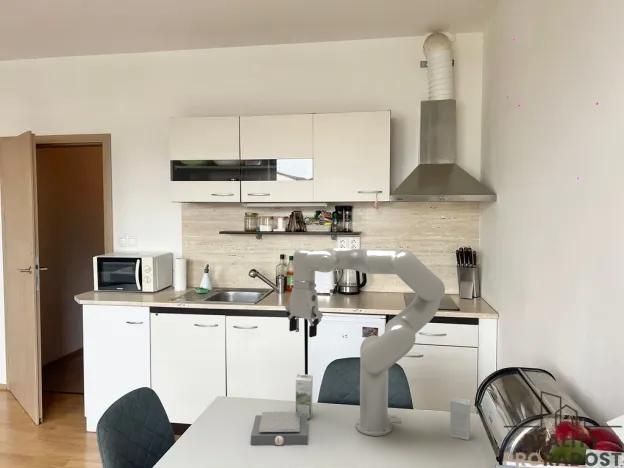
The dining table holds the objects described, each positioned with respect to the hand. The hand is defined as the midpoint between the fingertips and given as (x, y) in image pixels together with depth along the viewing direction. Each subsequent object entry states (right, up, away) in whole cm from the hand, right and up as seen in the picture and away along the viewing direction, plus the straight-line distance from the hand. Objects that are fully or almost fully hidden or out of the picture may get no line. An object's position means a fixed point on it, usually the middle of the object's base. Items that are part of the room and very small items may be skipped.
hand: (302, 333), depth 152 cm
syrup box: (0, -32, +7) cm, 33 cm away
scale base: (-7, -32, -6) cm, 34 cm away
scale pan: (-7, -29, -6) cm, 30 cm away
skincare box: (+53, -33, -7) cm, 62 cm away
